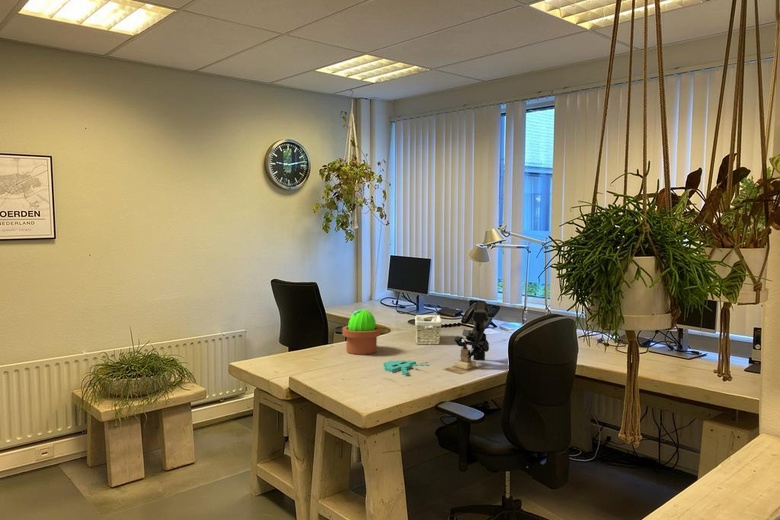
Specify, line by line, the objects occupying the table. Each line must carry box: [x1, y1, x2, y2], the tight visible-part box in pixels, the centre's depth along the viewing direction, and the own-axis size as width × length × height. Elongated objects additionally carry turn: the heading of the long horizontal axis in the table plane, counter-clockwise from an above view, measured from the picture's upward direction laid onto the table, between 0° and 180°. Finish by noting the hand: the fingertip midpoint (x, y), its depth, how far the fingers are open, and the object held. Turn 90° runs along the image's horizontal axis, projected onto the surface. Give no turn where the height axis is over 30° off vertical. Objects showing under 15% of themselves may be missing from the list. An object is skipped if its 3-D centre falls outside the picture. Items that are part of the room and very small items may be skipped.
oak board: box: [441, 364, 482, 375], centre depth 291 cm, size 18×12×2 cm, turn 137°
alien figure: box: [383, 359, 430, 377], centre depth 296 cm, size 20×2×20 cm
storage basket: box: [414, 314, 443, 345], centre depth 359 cm, size 24×16×15 cm
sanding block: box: [455, 348, 477, 370], centre depth 293 cm, size 8×7×9 cm
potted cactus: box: [342, 309, 382, 356], centre depth 330 cm, size 22×22×25 cm
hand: (464, 357), depth 292 cm, fingers closed on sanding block, 4 cm apart
